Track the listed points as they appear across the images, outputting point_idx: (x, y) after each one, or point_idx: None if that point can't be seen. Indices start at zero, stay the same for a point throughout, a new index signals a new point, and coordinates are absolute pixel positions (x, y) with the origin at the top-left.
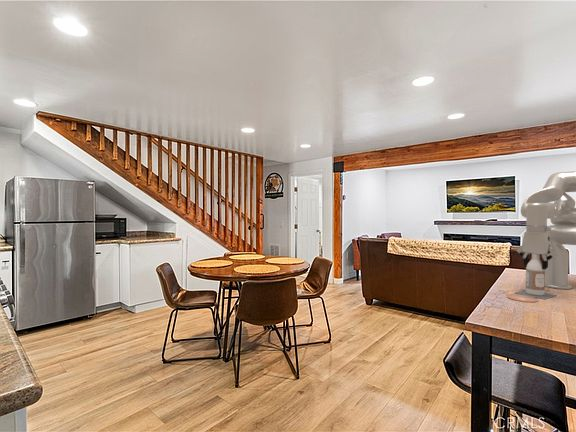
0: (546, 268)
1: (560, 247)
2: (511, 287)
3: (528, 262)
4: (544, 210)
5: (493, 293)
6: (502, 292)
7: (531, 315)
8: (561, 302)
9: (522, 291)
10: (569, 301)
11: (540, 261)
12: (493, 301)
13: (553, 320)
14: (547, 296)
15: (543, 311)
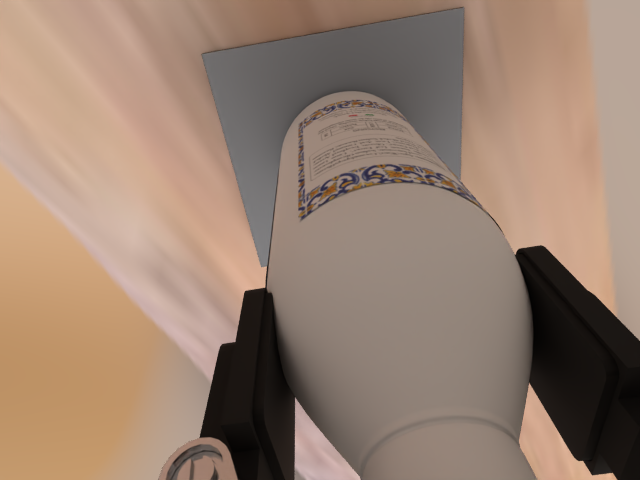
0: (541, 249)
1: None
2: (82, 82)
3: (311, 419)
4: None
5: None
6: (216, 311)
7: None
8: (548, 207)
9: (250, 166)
10: (584, 121)
11: (522, 415)
12: (333, 469)
13: (578, 477)
14: (437, 142)
15: (525, 427)
